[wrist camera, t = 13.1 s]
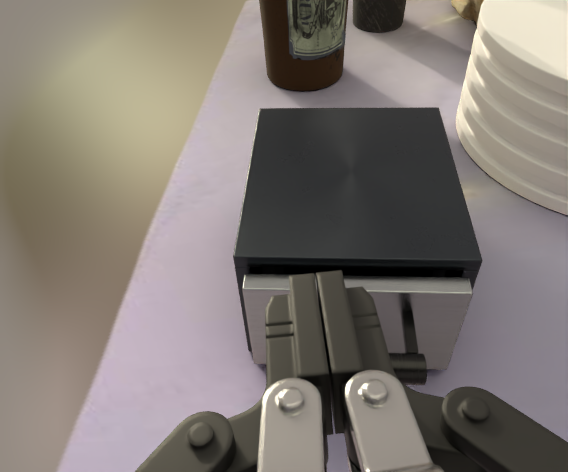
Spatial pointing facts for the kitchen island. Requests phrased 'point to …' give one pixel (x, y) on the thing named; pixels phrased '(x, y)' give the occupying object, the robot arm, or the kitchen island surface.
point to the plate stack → (519, 98)
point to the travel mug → (378, 14)
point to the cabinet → (353, 194)
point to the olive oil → (304, 42)
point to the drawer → (382, 312)
